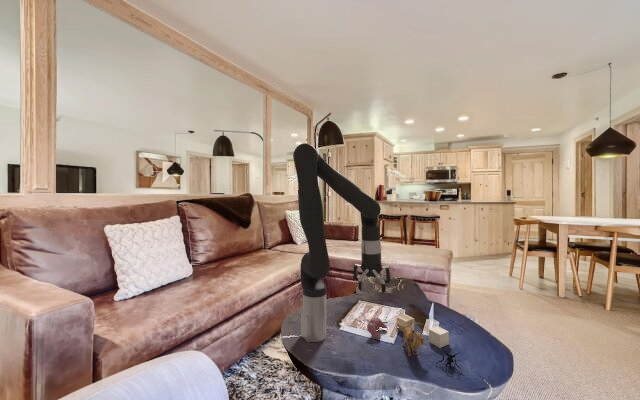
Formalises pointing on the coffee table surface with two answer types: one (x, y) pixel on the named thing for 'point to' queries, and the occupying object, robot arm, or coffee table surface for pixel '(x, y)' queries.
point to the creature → (449, 361)
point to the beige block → (438, 336)
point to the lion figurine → (412, 340)
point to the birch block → (405, 322)
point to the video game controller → (375, 327)
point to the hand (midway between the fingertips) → (372, 291)
